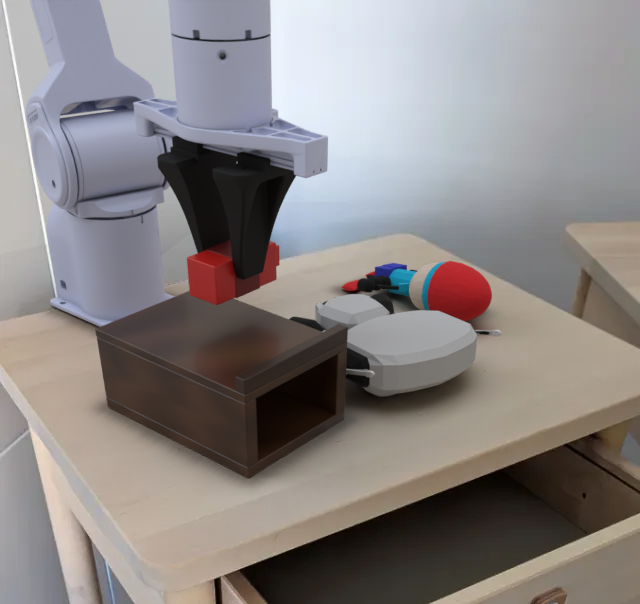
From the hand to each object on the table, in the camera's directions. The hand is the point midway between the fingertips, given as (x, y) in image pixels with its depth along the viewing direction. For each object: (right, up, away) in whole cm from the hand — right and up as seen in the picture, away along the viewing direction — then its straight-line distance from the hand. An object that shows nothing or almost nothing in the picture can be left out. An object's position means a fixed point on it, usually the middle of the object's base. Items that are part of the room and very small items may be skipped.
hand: (232, 268), depth 58 cm
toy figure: (+15, +3, +19) cm, 24 cm away
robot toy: (+10, -5, +10) cm, 15 cm away
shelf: (-1, -9, +4) cm, 10 cm away
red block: (0, -1, +1) cm, 1 cm away
